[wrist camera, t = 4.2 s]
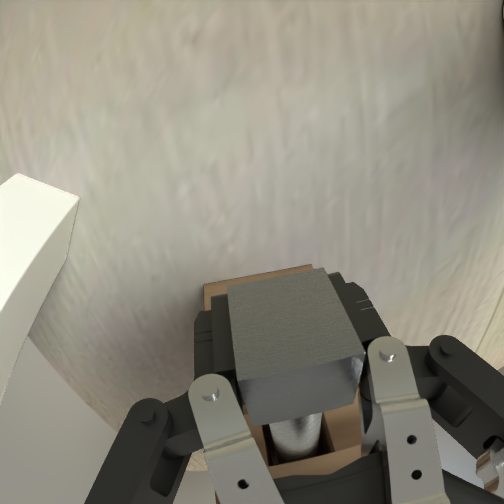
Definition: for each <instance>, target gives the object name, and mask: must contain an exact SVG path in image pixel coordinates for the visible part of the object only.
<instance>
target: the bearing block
mask: <svg viewBox="0 0 504 504" xmlns="http://www.w3.org/2000/svg"><path fill="white" fill-rule="evenodd" d="M309 270H314V269H313V267H312V265H311V264H310V265H305V266H299V267H294V268H289V269H284V270H279V271H273V272H268V273H263V274H257V275H252V276H246V277H241V278H236V279H230V280H224V281H219V282H213V283H208V284H204V306H205V311H207V310H211V296H215V295H220V294H226V293H227V286H229V285H235V284H240V283H246V282H251V281H257V280H262V279H267V278H273V277H278V276H283V275H288V274H293V273H299V272H304V271H309ZM358 389H359V386H358V388H357V392H356V396H355V400H354V404H351V405H348V406H344V407H341V408H337V409H333V410H329V411H326V412H322V417H321V426H320V435H319V443H318V451H317V457H313V458H309V459H305V460H300V461H296V462H291V463H286V464H280V465H279V464H278V460H277V456H276V451H275V447H274V443H273V438H272V434H271V430H270V425H269V424H265V425H260V426H254V427H252V424H251V421H250V418H249V415H248V412H247V409H246V406H245V405H243V412H244V418H245V421H246V423H247V425H248V428H249V430H250V432H251V434H252V436H253V438H254V440H255V442H256V445H257V447H258V449H259V451H260V453H261V456H262V458H263V460H264V462H265V464H266V466H267V469H268V471H269V473H270V475H271V477H272V479H275V478H281V477H286V476H291V475H328V474H332V473H334V472H336V471H337V470H339V469H341V468H343V467H345V466H346V465H348V464H350V463H352V462H353V461H355V460H357V459H359V458H361V443H362V431H361V421H360V411H359V402H358ZM215 496H216V504H220V501H219V498H218V496H217V493H216V490H215Z"/></svg>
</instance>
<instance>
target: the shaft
mask: <svg viewBox="0 0 504 504" xmlns="http://www.w3.org/2000/svg"><path fill="white" fill-rule="evenodd" d="M227 295H228V304H229V313H230V322H231V331H232V340H233V349H234V357H235V366H236V374H237V381H238V384H239V387H240V391H241V394H242V397H243V400H244V403H245V406H246V409H247V412H248V415H249V418H250V421H251V424H252V427H254V426H260V425H265V424H269V425H270V430H271V434H272V438H273V443H274V447H275V451H276V456H277V460H278V464H279V465H280V464H286V463H291V462H296V461H300V460H305V459H309V458H313V457H317V451H318V443H319V435H320V426H321V417H322V412H326V411H329V410H333V409H337V408H341V407H344V406H348V405H351V404H354V400H355V396H356V392H357V388H358V384H359V380H360V375H361V371H362V367H363V362H364V358H365V353H366V352H365V350H364V348H363V346H362V344H361V342H360V340H359V338H358V335H357V333H356V331H355V329H354V327H353V325H352V323H351V321H350V319H349V317H348V315H347V313H346V311H345V309H344V307H343V305H342V303H341V301H340V299H339V297H338V295H337V293H336V291H335V289H334V287H333V285H332V283H331V281H330V279H329V277H328V275H327V273H326V271H325V270H324V268H319V269H314V270H309V271H304V272H299V273H293V274H288V275H283V276H278V277H273V278H267V279H262V280H257V281H251V282H246V283H240V284H235V285H229V286H227Z"/></svg>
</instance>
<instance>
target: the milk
mask: <svg viewBox="0 0 504 504" xmlns="http://www.w3.org/2000/svg"><path fill="white" fill-rule="evenodd" d="M79 199H80V198H79V197H78V196H75V195H73V194H70V193H68V192H65V191H63V190H60V189H57V188H55V187H52V186H50V185H47V184H45V183H42V182H40V181H37V180H35V179H32V178H29V177H27V176H24V175H22V174H19V173H17V174H15V175H14V176H12V177H11V178H10V179H8V180H7V181H6V182H5V183H3V184H2V185H1V186H0V404H1V401H2V398H3V396H4V393H5V390H6V387H7V384H8V382H9V379H10V376H11V373H12V371H13V368H14V366H15V363H16V361H17V358H18V356H19V353H20V351H21V349H22V347H23V344H24V342H25V340H26V337H27V335H28V333H29V331H30V329H31V326H32V324H33V322H34V320H35V318H36V316H37V314H38V312H39V310H40V308H41V306H42V304H43V302H44V300H45V298H46V296H47V294H48V292H49V290H50V288H51V286H52V284H53V282H54V281H55V279H56V277H57V275H58V273H59V271H60V270H61V268H62V266H63V264H64V263H65V261H66V259H67V253H68V248H69V243H70V238H71V233H72V229H73V224H74V220H75V215H76V211H77V207H78V203H79Z"/></svg>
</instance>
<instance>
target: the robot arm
mask: <svg viewBox="0 0 504 504" xmlns="http://www.w3.org/2000/svg"><path fill="white" fill-rule="evenodd" d="M503 17H504V7H503ZM327 275H328V277H329V279H330V281H331V283H332V285H333V287H334V289H335V291H336V293H337V295H338V297H339V299H340V301H341V303H342V305H343V307H344V309H345V311H346V313H347V315H348V317H349V319H350V321H351V323H352V325H353V327H354V329H355V331H356V333H357V335H358V338H359V340H360V342H361V344H362V346H363V348H364V350H365V352H366V353H365V358H364V362H363V367H362V371H361V375H360V380H359V384H358V386H359V389H358V402H359V411H360V421H361V431H362V443H361V458H359V459H357V460H355V461H353V462H352V463H350V464H348V465H346V466H345V467H343V468H341V469H339V470H337V471H336V472H334V473H332V474H328V475H291V476H286V477H281V478H275V479H272V477H271V475H270V473H269V471H268V469H267V466H266V464H265V462H264V460H263V458H262V456H261V453H260V451H259V449H258V447H257V445H256V442H255V440H254V438H253V436H252V434H251V432H250V430H249V428H248V425H247V423H246V421H245V418H244V412H243V405H245V403H244V400H243V397H242V394H241V391H240V387H239V384H238V381H237V374H236V366H235V357H234V349H233V340H232V331H231V322H230V313H229V304H228V295H227V293H226V294H220V295H215V296H211V310H207V311H201V312H199V314H198V316H197V318H196V320H195V322H194V334H195V335H194V343H195V344H194V372H195V376H194V382H193V383H192V384H191V386H190V388H189V390H188V391H187V392H186V393H185V394H183V395H182V396H180V397H178V398H175V399H173V400H170V401H168V402H165V403H162V402H161V401H159V400H157V399H153V398H147V399H143V400H140V401H138V402H137V403H135V404H134V405H133V406H132V408H131V409H130V411H129V413H128V415H127V417H126V419H125V421H124V423H123V425H122V427H121V429H120V431H119V433H118V435H117V437H116V439H115V441H114V443H113V445H112V447H111V449H110V451H109V453H108V455H107V457H106V459H105V461H104V463H103V465H102V467H101V469H100V471H99V474H98V476H97V478H96V480H95V482H94V484H93V486H92V488H91V490H90V492H89V495H88V497H87V499H86V501H85V503H84V504H173V501H174V499H175V496H176V493H177V491H178V488H179V485H180V482H181V480H182V478H183V475H184V472H185V470H186V467H187V465H188V462H189V459H190V457H191V454H192V452H195V451H197V450H200V449H202V448H204V452H203V454H204V458H205V462H206V465H207V468H208V471H209V473H210V476H211V479H212V482H213V485H214V487H215V490H216V493H217V496H218V498H219V501H220V504H504V376H503V375H502V374H501V373H499V372H498V371H497V370H496V369H495V368H493V367H492V366H491V365H490V364H488V363H487V362H486V361H485V360H483V359H482V358H481V357H480V356H478V355H477V354H476V353H474V352H473V351H472V350H471V349H469V348H468V347H467V346H465V345H464V344H463V343H462V342H460V341H459V340H458V339H456V338H455V337H452V336H449V335H440V336H437V337H435V338H434V339H433V340H432V341H431V343H430V345H429V346H406V345H404V343H403V342H401V341H400V340H399V339H397V338H394V337H391V335H390V334H389V332H388V330H387V328H386V327H385V325H384V323H383V321H382V320H381V318H380V316H379V315H378V313H377V311H376V309H375V308H374V307H373V304H372V303H371V301H370V300H369V298H368V296H367V294H366V293H365V291H364V289H363V288H361V287H360V286H359V285H357V284H356V283H354V282H351V283H345V281H344V279H343V277H342V276H341V274H340V273H339V272H335V273H331V274H327ZM432 419H434V420H435V421H436V422H437V423H438V424H439V425H440V426H441V427H442V428H443V429H444V430H445V431H447V432H448V433H449V434H450V435H451V436H452V437H453V438H454V439H455V440H456V441H457V442H458V443H459V444H461V445H462V446H463V447H464V448H465V449H466V450H467V451H468V452H469V453H470V454H471V455H472V456H474V457H475V458H476V459H477V464H476V475H477V476H478V477H479V478H481V479H482V481H483V483H484V489H482V488H480V487H478V486H476V485H473V484H471V483H469V482H467V481H465V480H463V479H461V478H459V477H457V476H455V475H453V474H451V473H449V472H447V471H445V470H443V469H441V462H440V457H439V451H438V446H437V440H436V435H435V430H434V425H433V421H432Z"/></svg>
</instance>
